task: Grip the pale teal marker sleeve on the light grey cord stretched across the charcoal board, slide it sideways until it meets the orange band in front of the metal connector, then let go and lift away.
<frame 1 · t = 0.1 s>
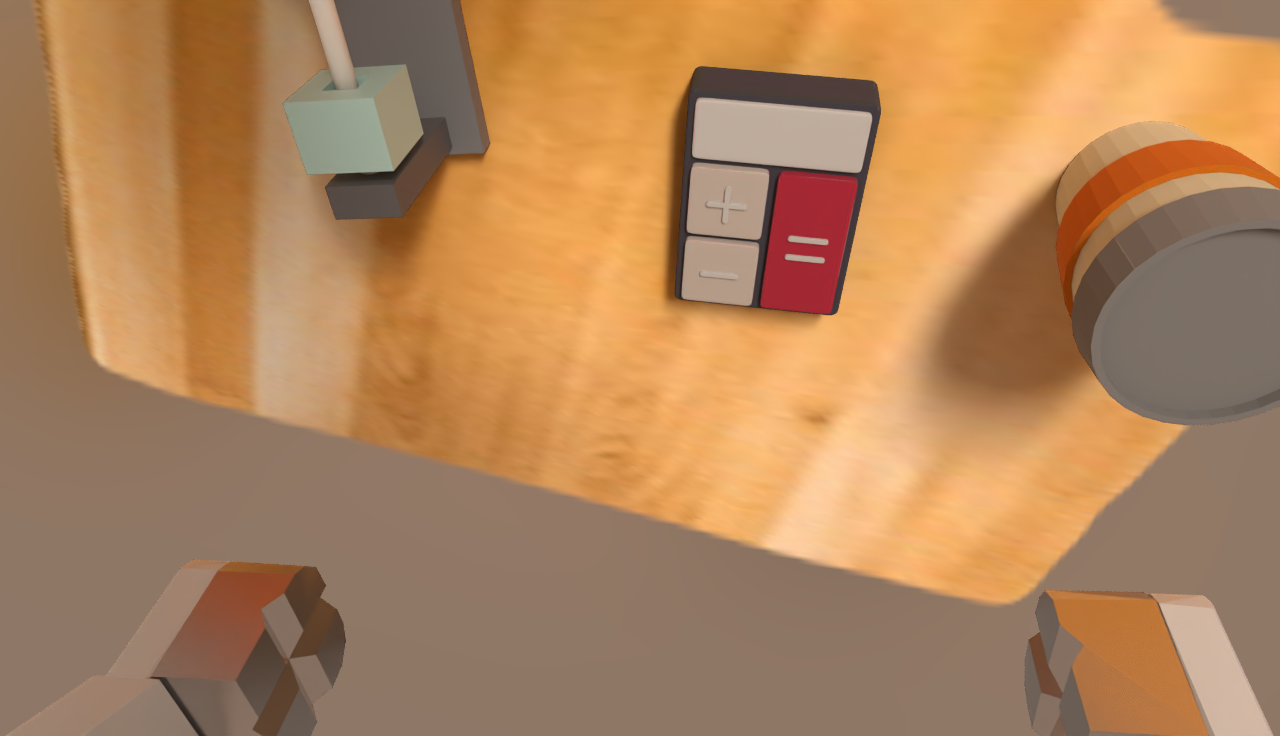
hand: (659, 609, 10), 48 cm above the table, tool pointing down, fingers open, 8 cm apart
reusable coffee cup: (1132, 189, 56), on the table
calculator: (769, 185, 59), on the table
marker sleeve: (356, 119, 50), point 9 cm above the table, slide at 5.5 cm
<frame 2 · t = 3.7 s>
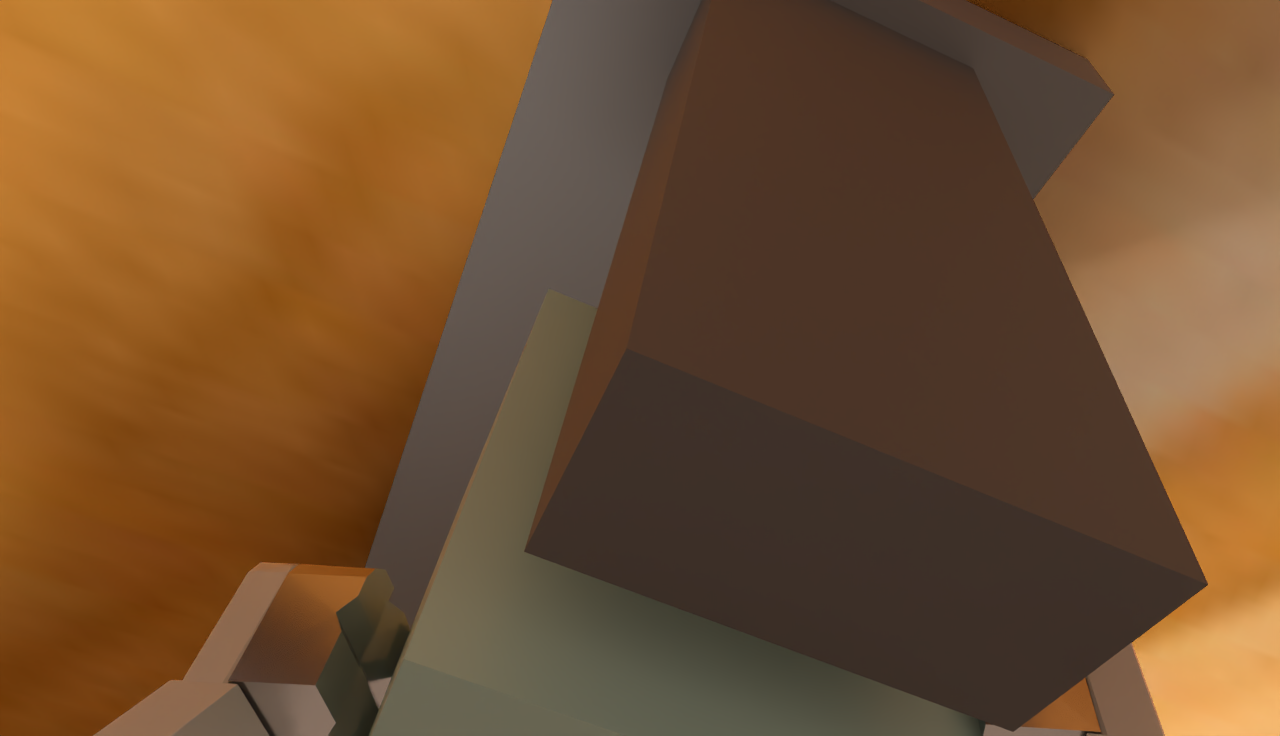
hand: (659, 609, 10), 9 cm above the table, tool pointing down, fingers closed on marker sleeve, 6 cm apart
cord board: (608, 431, 21), on the table
marker sleeve: (656, 633, 10), point 9 cm above the table, slide at 5.5 cm, touching gripper
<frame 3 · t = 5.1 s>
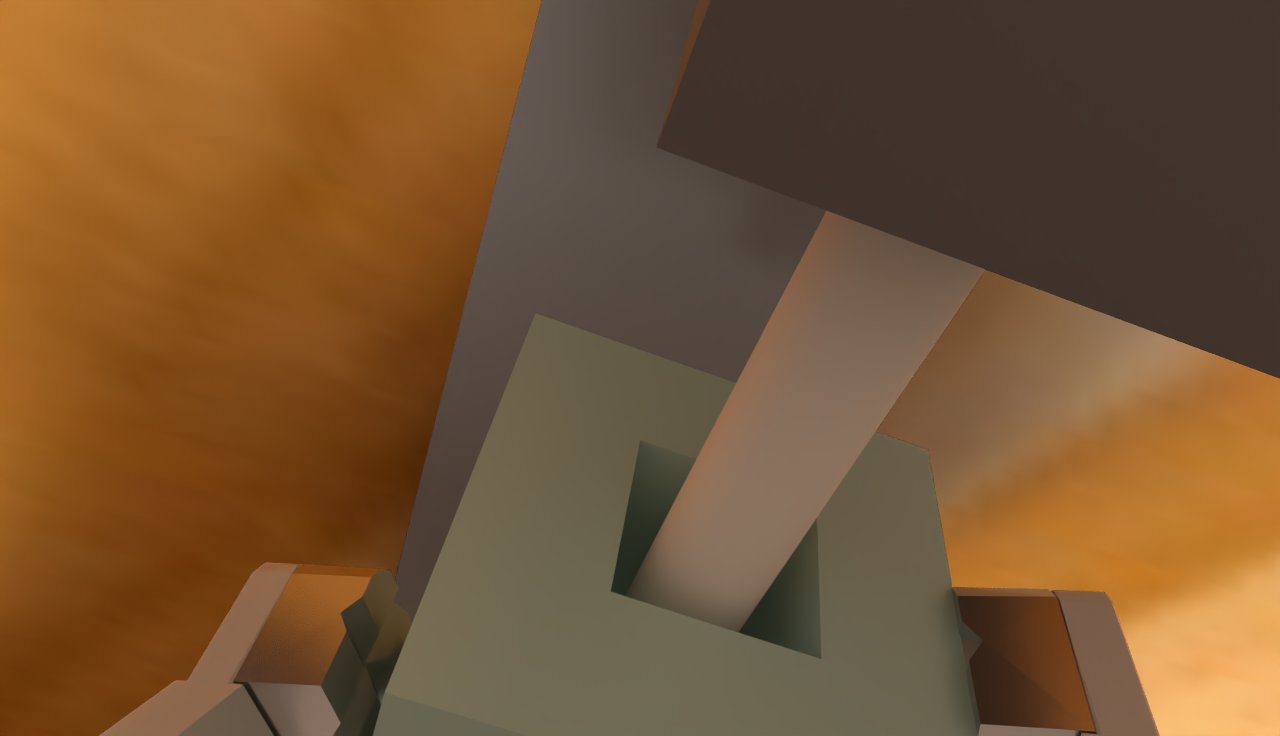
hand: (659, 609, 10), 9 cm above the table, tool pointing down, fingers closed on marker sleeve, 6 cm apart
cord board: (676, 327, 18), on the table
marker sleeve: (657, 652, 10), point 9 cm above the table, slide at 2.0 cm, touching gripper
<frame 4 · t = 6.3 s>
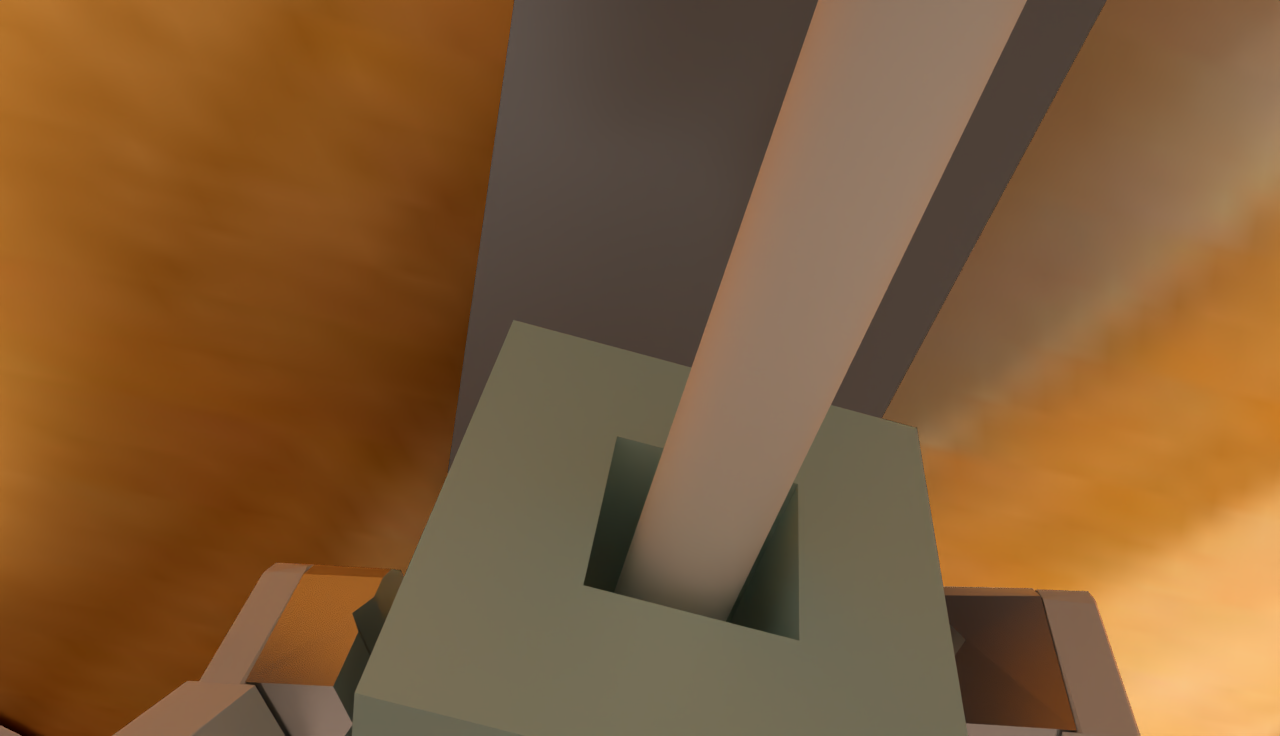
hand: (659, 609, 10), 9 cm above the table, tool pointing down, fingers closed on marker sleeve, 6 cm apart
cord board: (737, 158, 16), on the table
marker sleeve: (652, 646, 10), point 9 cm above the table, slide at -1.8 cm, touching gripper
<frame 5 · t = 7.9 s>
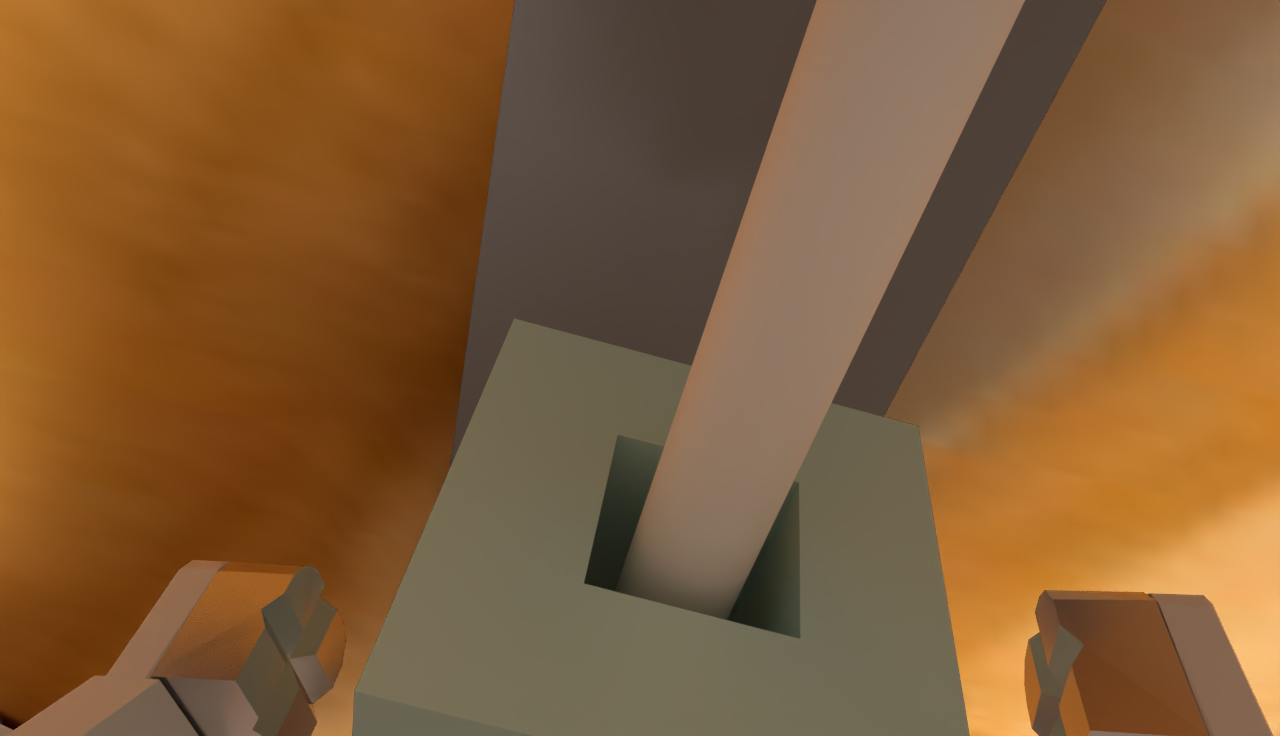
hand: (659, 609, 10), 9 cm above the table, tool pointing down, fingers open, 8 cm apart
cord board: (738, 156, 16), on the table
marker sleeve: (653, 644, 10), point 9 cm above the table, slide at -1.8 cm
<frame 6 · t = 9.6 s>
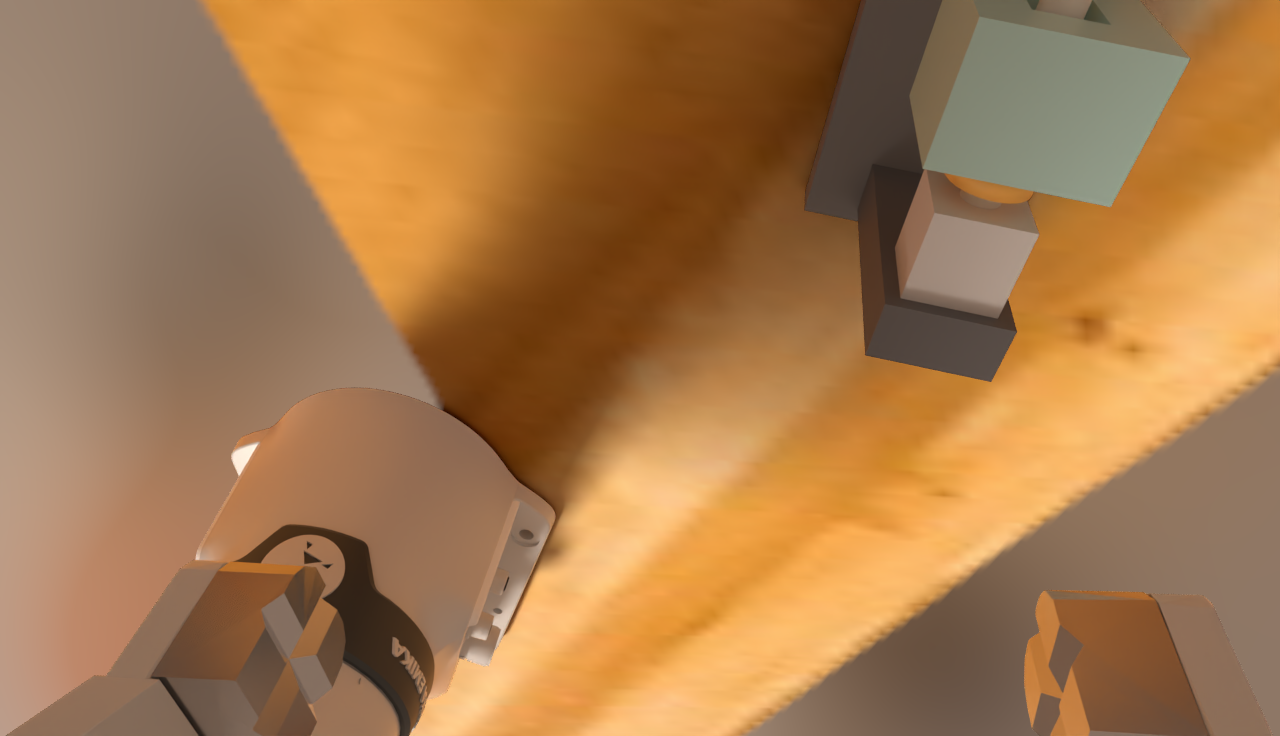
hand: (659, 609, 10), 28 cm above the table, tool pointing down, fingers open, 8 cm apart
marker sleeve: (1031, 79, 25), point 9 cm above the table, slide at -1.8 cm
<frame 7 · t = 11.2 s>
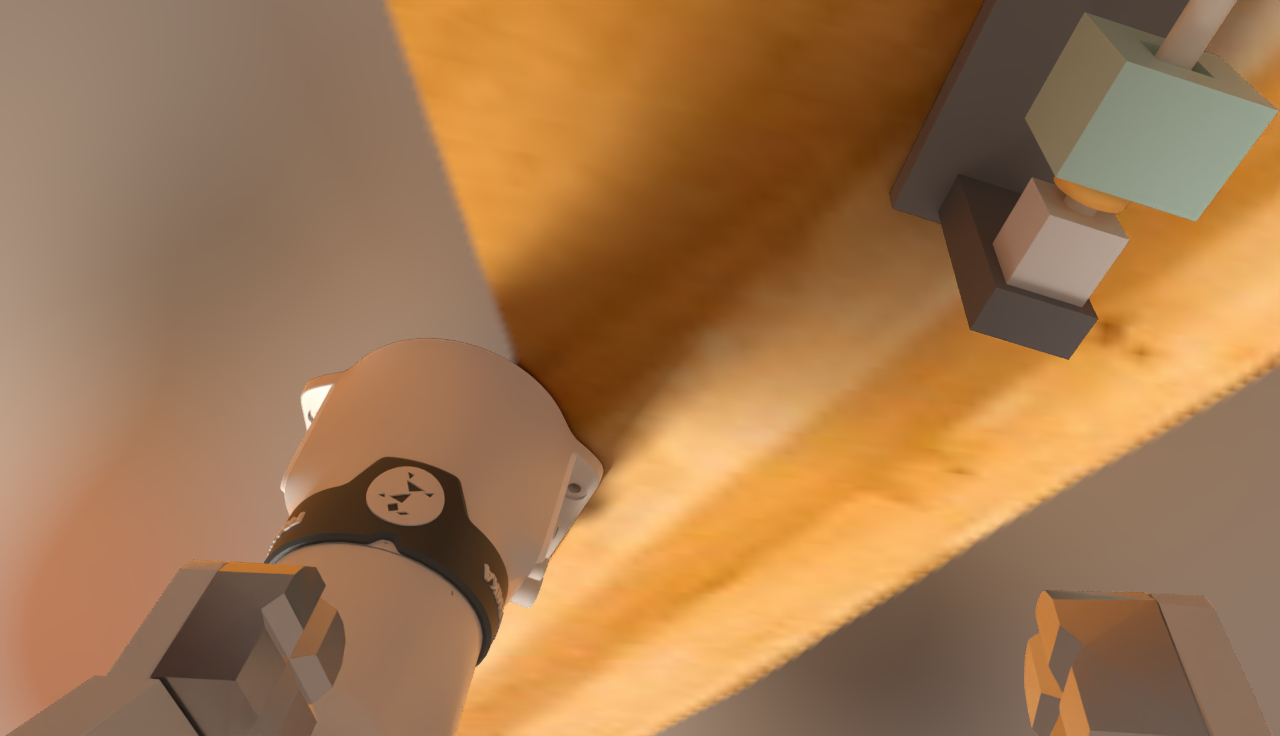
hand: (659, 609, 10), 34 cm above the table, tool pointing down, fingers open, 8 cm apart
marker sleeve: (1139, 114, 31), point 9 cm above the table, slide at -1.8 cm
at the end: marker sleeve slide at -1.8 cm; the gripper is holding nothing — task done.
